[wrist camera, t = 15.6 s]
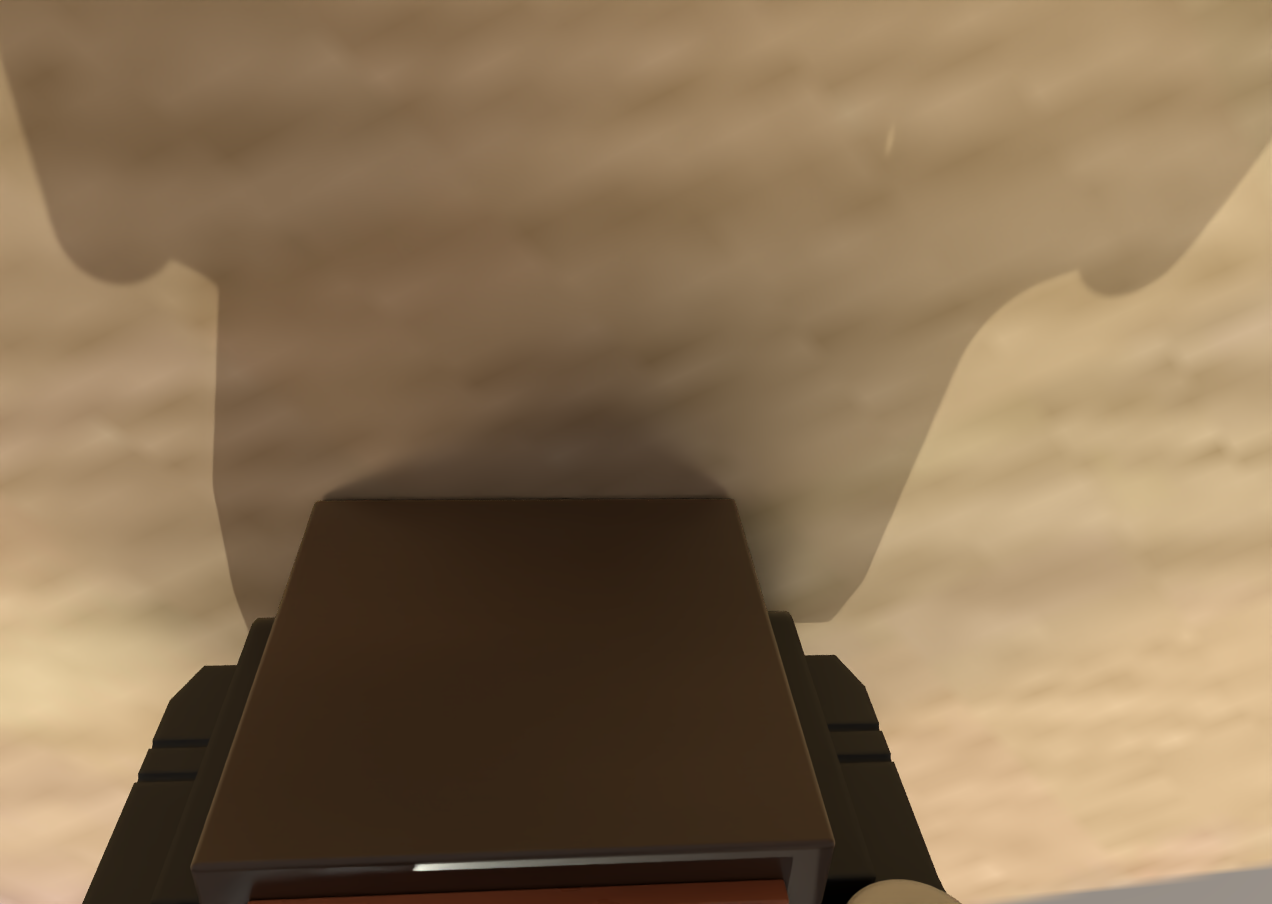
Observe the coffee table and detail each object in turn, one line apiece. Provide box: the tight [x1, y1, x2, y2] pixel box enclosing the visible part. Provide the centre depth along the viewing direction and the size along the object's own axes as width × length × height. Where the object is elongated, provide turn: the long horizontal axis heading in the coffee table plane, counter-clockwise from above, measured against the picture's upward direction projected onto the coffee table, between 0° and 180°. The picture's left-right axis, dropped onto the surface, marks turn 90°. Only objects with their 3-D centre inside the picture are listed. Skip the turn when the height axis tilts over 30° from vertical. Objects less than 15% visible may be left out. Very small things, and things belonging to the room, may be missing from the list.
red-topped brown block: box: [190, 499, 835, 904], centre depth 10 cm, size 4×4×5 cm
